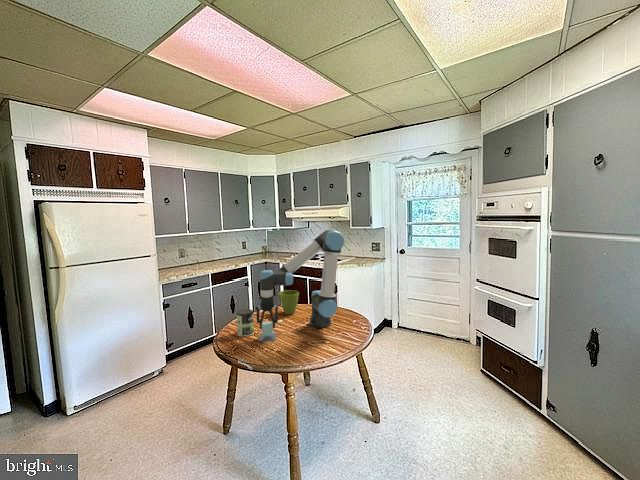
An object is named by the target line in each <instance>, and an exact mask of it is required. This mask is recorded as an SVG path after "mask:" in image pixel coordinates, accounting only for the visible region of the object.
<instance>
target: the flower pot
mask: <svg viewBox="0 0 640 480" xmlns="http://www.w3.org/2000/svg"><path fill="white" fill-rule="evenodd" d="M278 295H279V299H280V304H281V306H282V309H283V312H284V314H285V315H294V314H295V312H296V309H297V306H298V302H299V296H300V292H299V291H298V290H295V289H293V290H291V289H287V290H282V291H280V292H279V293H278Z"/></svg>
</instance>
